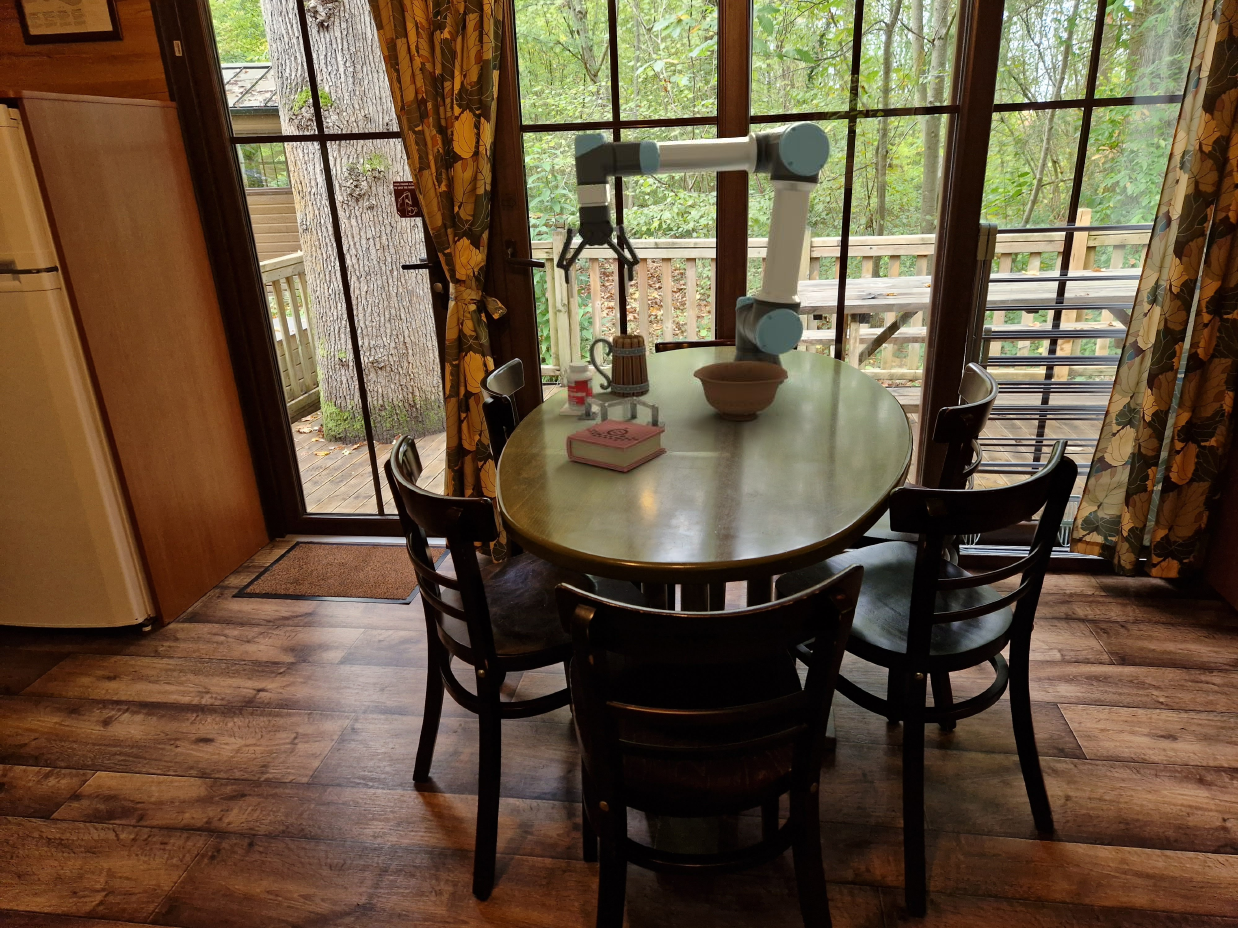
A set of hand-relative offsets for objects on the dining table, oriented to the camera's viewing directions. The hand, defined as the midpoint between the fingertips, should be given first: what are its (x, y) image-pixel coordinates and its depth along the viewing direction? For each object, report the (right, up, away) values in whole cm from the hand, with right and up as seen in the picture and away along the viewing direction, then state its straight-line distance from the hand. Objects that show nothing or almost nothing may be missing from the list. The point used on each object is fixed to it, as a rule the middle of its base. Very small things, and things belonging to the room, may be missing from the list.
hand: (600, 296), depth 191 cm
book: (+4, -39, -28) cm, 48 cm away
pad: (-5, -27, +4) cm, 28 cm away
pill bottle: (-5, -27, +3) cm, 28 cm away
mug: (+5, -22, +20) cm, 30 cm away
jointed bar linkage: (+6, -31, -6) cm, 32 cm away
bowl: (+33, -29, -5) cm, 45 cm away
